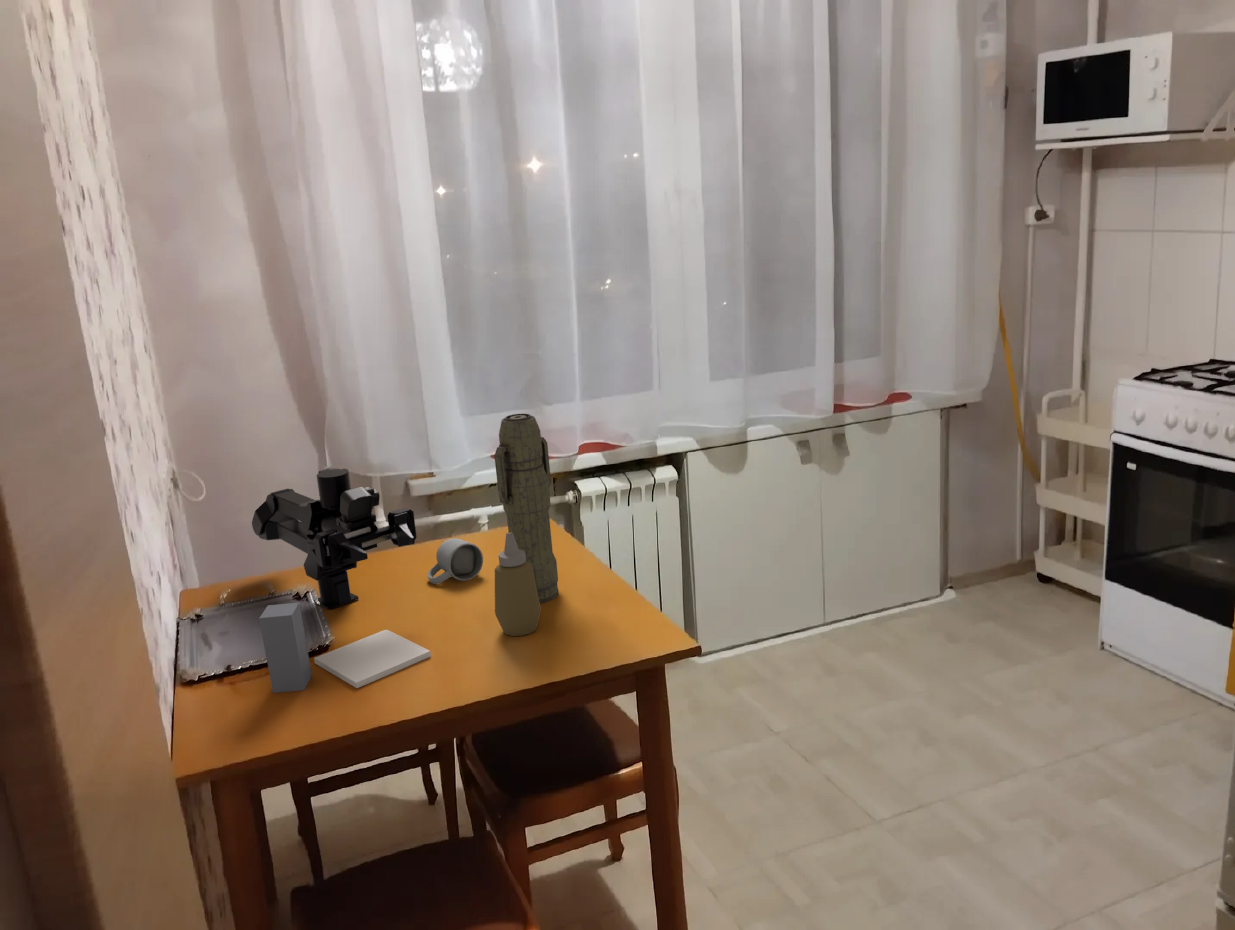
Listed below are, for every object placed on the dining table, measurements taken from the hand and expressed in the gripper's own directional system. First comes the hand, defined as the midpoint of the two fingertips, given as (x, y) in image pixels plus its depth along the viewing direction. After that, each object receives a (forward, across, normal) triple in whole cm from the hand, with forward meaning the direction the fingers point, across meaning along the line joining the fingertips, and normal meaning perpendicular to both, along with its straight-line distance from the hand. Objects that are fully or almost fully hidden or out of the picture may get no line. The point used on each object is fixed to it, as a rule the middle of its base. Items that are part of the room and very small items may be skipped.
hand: (390, 548), depth 169 cm
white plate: (+4, -8, +16) cm, 19 cm away
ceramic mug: (-16, +22, +18) cm, 33 cm away
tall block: (+2, -21, +17) cm, 27 cm away
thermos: (+4, +27, +17) cm, 32 cm away
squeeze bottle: (+15, +15, +16) cm, 27 cm away
